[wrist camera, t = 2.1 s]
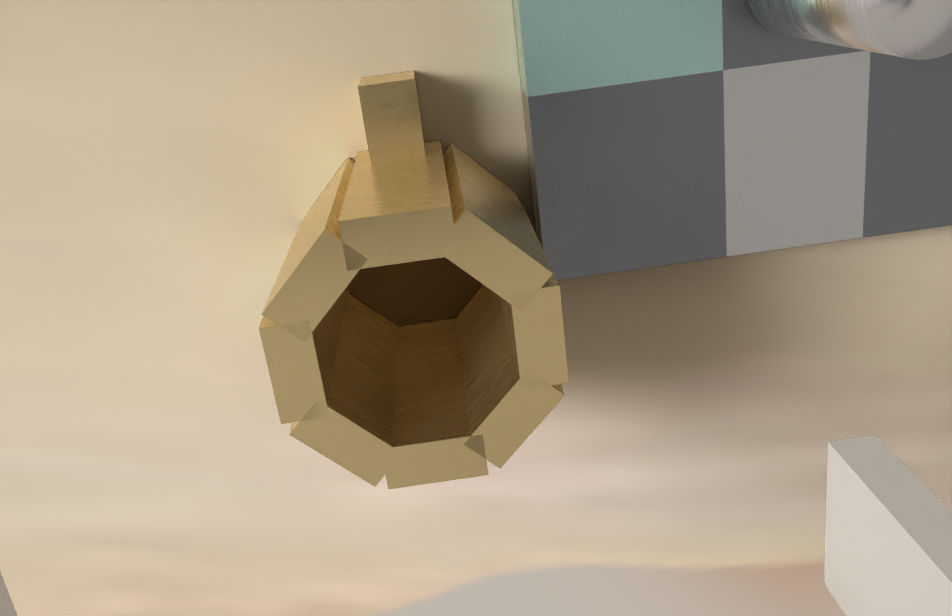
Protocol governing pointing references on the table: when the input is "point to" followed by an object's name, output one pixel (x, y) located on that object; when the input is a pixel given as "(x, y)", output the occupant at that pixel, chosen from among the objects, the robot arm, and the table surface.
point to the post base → (731, 125)
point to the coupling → (423, 344)
